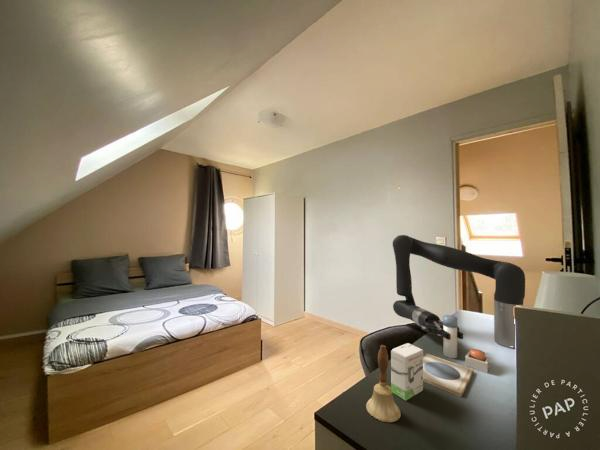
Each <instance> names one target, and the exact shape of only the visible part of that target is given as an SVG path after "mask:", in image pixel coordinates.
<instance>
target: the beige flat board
mask: <svg viewBox="0 0 600 450" xmlns="http://www.w3.org/2000/svg"><path fill="white" fill-rule="evenodd" d="M473 374H474V368H471V367H468V366H465V365H461V364H459V363H455V362H453V361H449V360H447V359H444V358H442V357H438V356H436V355H432V354H429V353H426V354H425V355H423V383H427V384H428V385H431V386H434V387H435V388H438V389H441V390H443V391H445V392H448V393H451V394H452V395H455V396H457V397H460V398H462V396H463V395H464V392H465V390H466V389H467V386H468V384H469V383H470V381H471V378H472V376H473Z"/></svg>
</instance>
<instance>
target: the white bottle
mask: <svg viewBox="0 0 600 450" xmlns="http://www.w3.org/2000/svg"><path fill="white" fill-rule="evenodd" d="M442 321H443V330H444V331H446V332H448V333H450V335H451V339H450V340H448V339H446V338H444V337H443V336H442V343H443V345H442V347H443V348H442V350H443V353H442V354H443V356H445V357H446V358H449V359H457V358H458V337H457V326H458V317H457V316H454V315H451V314H450V315H449V314H444V315H442Z"/></svg>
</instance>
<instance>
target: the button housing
mask: <svg viewBox="0 0 600 450" xmlns="http://www.w3.org/2000/svg"><path fill="white" fill-rule="evenodd" d="M464 359H465V361H464V363H465V364H464V366H465V367H468V368H471V369H473V370H477V371H479V372H483V373H485V374H488V372H489V371H490V367H491V356H487V355H485V360H477V359H474V358H472V357H471V355H470V350H468V352H467V354H465V357H464Z"/></svg>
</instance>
